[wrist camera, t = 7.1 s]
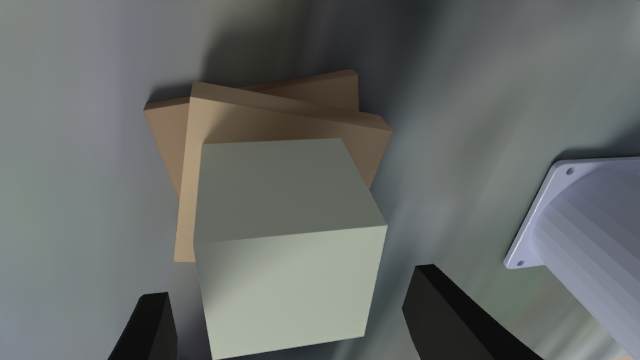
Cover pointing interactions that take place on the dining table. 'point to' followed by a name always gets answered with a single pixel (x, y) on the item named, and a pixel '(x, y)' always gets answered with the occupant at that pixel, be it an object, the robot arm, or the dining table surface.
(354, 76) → the slab bottom
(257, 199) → the cube
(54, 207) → the dining table surface
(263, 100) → the slab top
